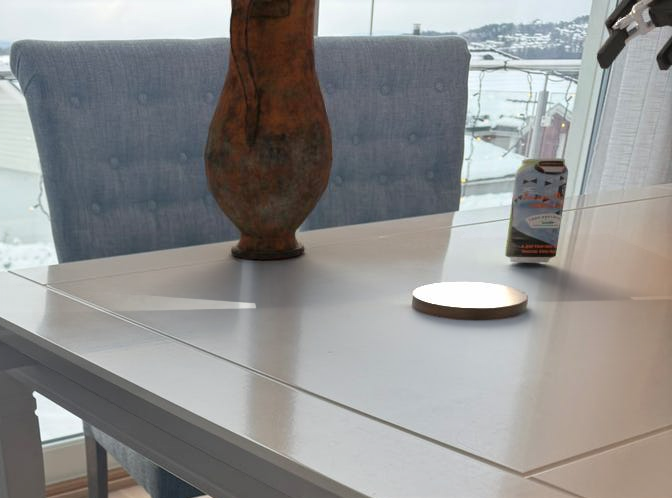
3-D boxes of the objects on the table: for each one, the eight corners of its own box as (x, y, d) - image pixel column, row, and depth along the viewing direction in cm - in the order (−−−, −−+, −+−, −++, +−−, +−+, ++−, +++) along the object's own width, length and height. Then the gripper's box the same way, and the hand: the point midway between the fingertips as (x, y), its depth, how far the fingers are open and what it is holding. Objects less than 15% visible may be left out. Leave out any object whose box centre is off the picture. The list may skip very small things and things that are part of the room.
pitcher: (342, 243, 131) (358, -17, 115) (299, 275, 114) (311, -24, 98) (231, 238, 136) (231, -11, 120) (175, 267, 120) (166, -17, 103)
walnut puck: (505, 310, 98) (509, 280, 96) (537, 339, 89) (543, 306, 87) (400, 313, 98) (403, 283, 96) (422, 341, 89) (425, 309, 87)
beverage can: (512, 270, 114) (529, 161, 108) (494, 258, 120) (509, 154, 114) (563, 268, 114) (583, 159, 108) (542, 257, 121) (560, 153, 114)
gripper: (659, -78, 112) (571, 38, 113) (771, -90, 101) (672, 37, 103) (676, -23, 117) (592, 87, 118) (785, -30, 106) (691, 91, 108)
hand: (630, 64), depth 111 cm, fingers open, 8 cm apart
